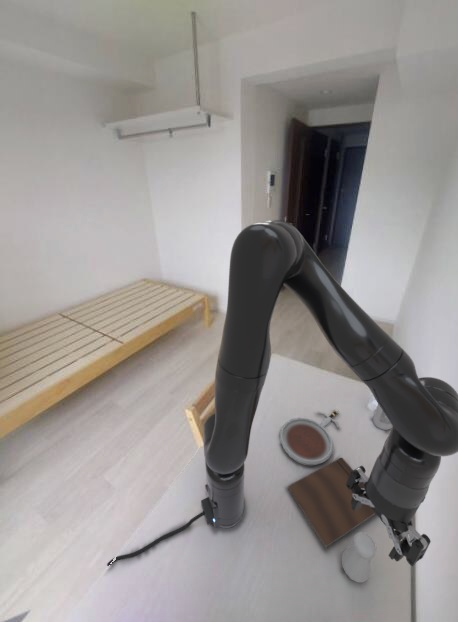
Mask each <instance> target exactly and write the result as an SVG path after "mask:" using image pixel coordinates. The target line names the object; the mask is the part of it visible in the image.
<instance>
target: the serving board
mask: <svg viewBox="0 0 458 622" xmlns="http://www.w3.org/2000/svg"><path fill="white" fill-rule="evenodd" d="M353 470H354V469H353V468H352V467H351V466H350V465H349V463H348V462H347V461H346V460H345V459H344V458H343V457H339V458H338V459H336V460H335V461H333V462H331V463H329V464H327V465H325V466H323V467H322V468H319V469H318V470H315V471H314V472H311V473H310V474H307V476H304V477H303V478H300V479H299V480H297V481H295V482H293V483H292V484H290V485H288V488H287V490H288V492H290V494H291V496H292V497H293V499H294V501H295V502H296V504H297V505H298V507H299V509H300V511H301V512H302V513H303V515H304V517H305V519H306V520H307V522H308V523H309V525H310V526H311V529H313V532H314V533H315V534H316V537H317V538H318V539H319V542H320V543H321V545H322V546H323V547H324V549H326V548H328V547H329V546H331V545H333V544H334V543H335V542H337V541H338V540H340V539H341V538H343V537H344V536H346V535H347V534H348V533H350V532H352V531H353V530H354V529H356V528H358V527H359V526H360V525H362V524H364V522H365V523H366V521H368V520H369V519H371V518H372V517H374V516H375V515H377V514H376V513H375V512H374V511H373V510H372V509H371V507H370V505H366V504H362V506H361V508H359V509H358V510H356V511H353V509H352V504H351V500H352V497H353V496H352V494H353V492H352V490H349V489H348V488H347V486H346V483H347V480H348V478H349V476H350V474H351V472H352V471H353ZM359 486H360V488H364V483H363V482H360V484H359ZM364 489H365V488H364Z"/></svg>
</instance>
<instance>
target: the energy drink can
mask: <svg viewBox="0 0 458 622" xmlns="http://www.w3.org/2000/svg"><path fill="white" fill-rule="evenodd" d="M372 422H373V425H375V427H376V428H378V429H380V430H382V431H388V430H391V428H392V426H393V425H392V424H391V423H390V421H389V420H388V418H387V416H386V415H385V413H384V412H383V410H382V409H381V407H380V406H379V404H378V403H377V406H376V409H375V411H374V414H373V417H372Z"/></svg>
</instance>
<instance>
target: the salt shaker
mask: <svg viewBox="0 0 458 622" xmlns="http://www.w3.org/2000/svg"><path fill="white" fill-rule="evenodd" d="M376 544H377V543H376V542H375V541H374V539H373V537H372V536H370V535H369V533H367V532H364V531H359V532H357V533H356V534H354V536H353V540H352V544H351V545H350V546H348V547H347V548H346V549H345V550H344V551H343V552H342V555H341V566H342V569H343V570H344V572H345V575H347V576H348V578H349V579H350V580H352V581H353V582H355V583H365V582H366V581H367V580H368V579H369V577H370V573H371V562H372V559H373V558H374V557H376V554H377V545H376Z"/></svg>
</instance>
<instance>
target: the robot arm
mask: <svg viewBox="0 0 458 622" xmlns="http://www.w3.org/2000/svg"><path fill="white" fill-rule="evenodd" d="M283 287H285V288H286V289H288V291H290V292H292V294H294V296H295V297H296V298H297V299H298V300H299V301H300V302H301V304H303V306H304V307H305V309H307V311H308V313H310V315H311V317H312V318H313V320H314V322H315V323H316V325H317V327H318V328H319V330H320V332H321V334H322V335H323V337H324V338H325V340H326V342H327V343H328V345H329V346H330V347H331V349H332V350H333V352H334V353H335V354H336V355H337V357H338V358H339V359H340V360H341V361H342V362H343V364H345V365H346V367H348V368H349V370H350V371H351V372H353V373H354V375H356V377H357V378H358V379H359V380H360V381H362V382H363V384H365V385H366V386H367V387H368V389H369V390H370V392H371V394H372V396H373V398H374V400H375V401H376V403H377V405H378V404H379V406H380V407H381V409H382V410H383V412H384V413H385V415H386V416H387V418H388V420H389V421H390V423H391V424H392V427H391V428H390V431H389V433H388V435H387V436H386V439H385V441H384V444H383V445H382V448H381V451H380V453H379V455H377V457H376V459H375V462H374V463H373V467H372V469H371V471H370V474H369V477H368V476H367V475H366V468H365V467H364V465H359V466H358V467H356V468H354V469H353V471H352V472H351V474H350V476H349V478H348V480H347V483H346V486H347V488H348V489H349V490H352V492H353V494H352V496H353V497H352V500H351V504H352V509H353V511H356V510H358V509H359V508H361V506H362V504H366V505H370V507H371V509H372V510H373V511H374V512H375V513H376V514H375V515H376V516H377V517H378V518H379V519H380V521H381V523H383V525H384V526H385V529H386V532H387V535H388V538H389V539H391V540H392V543H393V547H392V548H391V550H390V551H389V554H388V557H389V559H390V560H392V561H393V560H395V562H400V561H401V560H402V559H404V557H405V560H406V562H407V563H408V564H409V565H410V566H411V567H413V566H415V565H416V564H417V563H418V562H419V561H420V560H422V559H423V558H424V556H425V554H426V552H427V550H428V548H429V546H430V544H431V542H432V541H431V538H430V537H429V536H428V535H427V534H425V533H422V534H420V533H419V532H418V531H417V530H416V529H415V527H414V526H413V520H412V519H414V516H415V515H416V513H417V511H418V509H419V508H420V506H421V505H422V503H424V501H425V499H426V497H427V494H428V491H429V488H430V485H431V483H432V481H433V479H434V478H435V476H436V474H437V473H438V471H439V468H440V466H441V462H442V457H450V456H453V455H455V454H457V453H458V392H457V390H456V389H455V388H454V387H453V386H452V385H451V384H450V383H448V382H447V381H444V380H442V379H440V378H437V377H431V376H423V377H422V376H421V377H419V375H418V374H417V369H416V365H415V363H414V361H413V359H412V358H411V356H410V355H409V354H408V352H407V351H405V349H404V348H402V346H401V345H400V344H399V343H398V342H397V341H395V340H394V339H393V337H391V335H390V334H389V333H388V332H386V331H385V330H384V329H383V327H381V326H380V325H379V324H378V323H377V322H376V321H375V320H374V319H373V318H372V317H371V316H370V315H369V314H368V313H367V312H366V311H365V310H364V309H363V308H362V307H361V306H360V305H359V304H358V302H356V301H355V300H354V298H352V297H351V296H350V295H349V293H348V292H347V291H346V290H345V289H344V288H343V287H342V285H341V284H340V283H339V282H338V281H337V280H336V279H335V278H334V276H333V275H332V274H331V273H330V271H329V270H328V269H327V267H326V266H325V265H324V264H323V263H322V261H321V259H320V258H319V257H318V256H317V254H316V253H315V251H314V250H313V249H312V247H311V246H310V244H309V243H308V241H307V240H306V239H305V238H304V236H303V234H301V232H300V231H299V230H298V228H297V227H296V226H294V225H293V224H292V223H290V222H288V221H287V220H286V221H285V220H282V219H269V220H266V221H258V222H254V223H251V224H249V225H247V226H246V227H244V228H243V229H242V230H240V232H239V233H238V234H237V235H236V237H235V239H234V241H233V244H232V247H231V252H230V258H229V268H228V288H227V304H226V313H225V318H224V323H223V330H222V333H221V340H220V346H219V351H218V355H217V361H216V367H215V373H214V413H211V414H210V415H209V416H208V417H207V418H206V419H205V421H204V424H203V426H202V441H203V456H204V462H205V463H204V464H205V465H204V467H205V474H206V475H205V476H206V484H205V485H204V488H205V498H203V499H201V500H200V505H201V508H202V512H200V513H197V514H196V515H195V516H194V517H192V518H191V519H189V521H188V522H186V524H184V525H182V526H180V527H178V528H176V529H174V530H172V531H170V532H167V533H165V534H164V535H162V536H160V537H157V538H156V539H154V540H153V541H152V542H150V543H148V544H147V545H145V546H143V547H142V548H140V549H138V550H136V551H134V552H130V553H127V554H122V555H118V556H115V557H116V560H115V561H114V562H112V561H113V559H114V558H115V557H113V558H112V559H110V560H109V561H108V562H107V564H106V566H107V567H110V566H111V565H110V563H111V562H112V564H114V563H116V562H118V561H121V560H122V561H123V560H127V559H132V558H134V557H137V556H139V555H141V554H142V553H144V552H146V551H148V550H149V549H150V548H152V547H154V546H155V545H157V544H158V543H160V542H162V541H164V540H165V539H167V538H170V537H172V536H174V535H176V534H178V533H180V532H183V531H184V530H186V529H187V528H188V527H190V526H191V525H192V524H193V523H194V522H195V521H197V520H198V519H200V518H201V517H203V516H204V518H205V520H206V524H207V526H209V525H211V524H213V527H214V529H216V528H223V529H230V528H231V529H232V528H233V527H235V526H237V525H238V524H239V523H240V522H241V520H242V518H243V516H244V512H245V469H246V468H245V466H246V465H245V462H246V460H247V459H248V454H249V448H250V447H249V446H250V440H251V439H250V438H251V432H252V427H253V422H254V419H255V416H256V413H257V410H258V406H259V402H260V399H261V395H262V392H263V389H264V385H265V383H266V380H267V376H268V373H269V368H270V364H271V359H272V343H271V334H270V332H271V331H270V330H271V329H270V327H271V321H272V318H273V314H274V312H275V309H276V308H275V307H276V305H277V302H278V299H279V297H280V294H281V292H282V289H283ZM360 482H363V483H364V488H365V489H364V488H360V486H359V484H360ZM109 565H110V566H109Z"/></svg>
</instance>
